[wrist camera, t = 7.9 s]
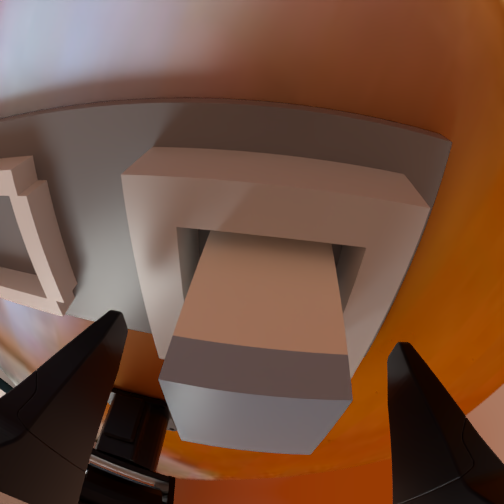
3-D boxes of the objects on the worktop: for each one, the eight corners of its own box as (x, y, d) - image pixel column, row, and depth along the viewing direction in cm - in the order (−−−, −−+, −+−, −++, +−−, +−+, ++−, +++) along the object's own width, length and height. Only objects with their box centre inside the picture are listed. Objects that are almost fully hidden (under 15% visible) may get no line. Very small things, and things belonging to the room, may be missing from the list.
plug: (308, 299, 14) (310, 454, 8) (218, 289, 14) (181, 440, 8) (327, 222, 11) (352, 400, 6) (218, 210, 11) (158, 378, 6)
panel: (362, 342, 17) (370, 395, 14) (-4, 283, 18) (-28, 314, 15) (440, 134, 10) (488, 169, 7) (-54, 134, 11) (-93, 158, 8)
